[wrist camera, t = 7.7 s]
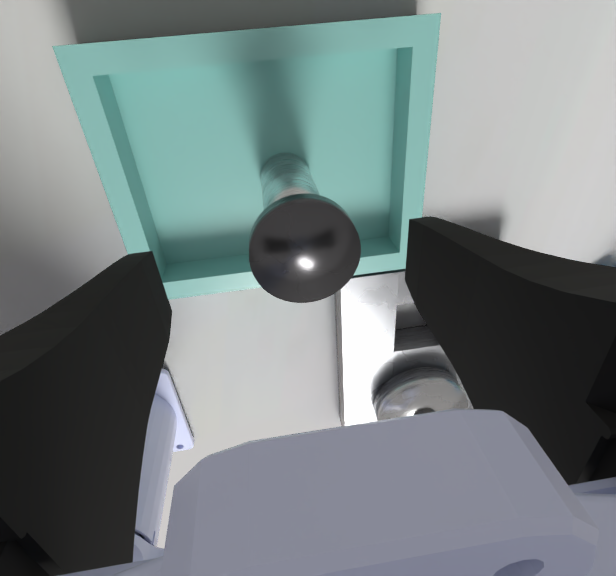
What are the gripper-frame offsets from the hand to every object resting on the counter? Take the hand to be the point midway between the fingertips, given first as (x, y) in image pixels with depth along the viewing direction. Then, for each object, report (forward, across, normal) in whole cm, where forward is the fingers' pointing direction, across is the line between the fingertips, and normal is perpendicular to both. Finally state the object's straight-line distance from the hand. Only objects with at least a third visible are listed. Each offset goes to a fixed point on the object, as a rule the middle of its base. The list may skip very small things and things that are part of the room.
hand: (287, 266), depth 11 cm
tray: (+10, 0, 0) cm, 10 cm away
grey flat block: (+10, -8, +13) cm, 18 cm away
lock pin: (+9, -1, 0) cm, 9 cm away
